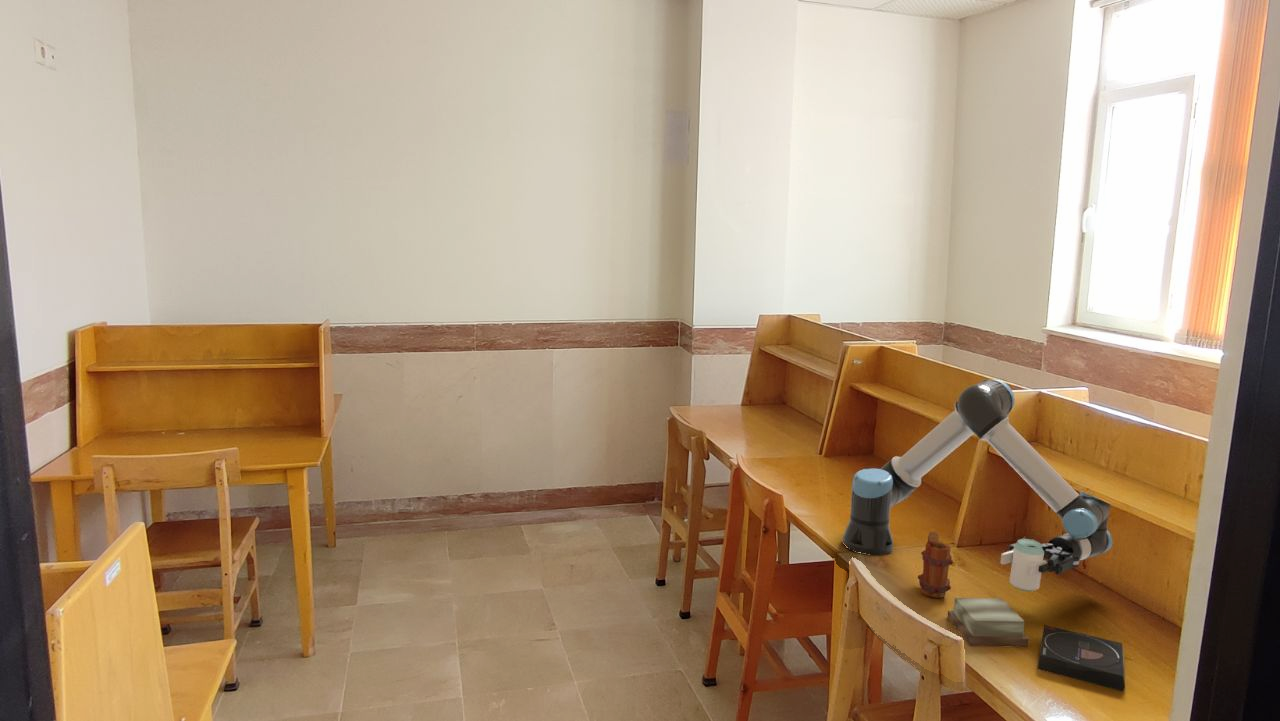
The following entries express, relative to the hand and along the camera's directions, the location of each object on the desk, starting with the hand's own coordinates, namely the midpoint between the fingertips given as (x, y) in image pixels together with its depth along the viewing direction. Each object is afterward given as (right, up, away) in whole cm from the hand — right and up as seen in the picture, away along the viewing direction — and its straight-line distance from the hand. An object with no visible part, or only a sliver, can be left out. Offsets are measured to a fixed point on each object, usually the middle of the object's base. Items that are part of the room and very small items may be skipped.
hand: (1015, 564), depth 209 cm
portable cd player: (+6, -19, -19) cm, 28 cm away
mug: (-16, -11, +16) cm, 25 cm away
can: (+4, -7, +4) cm, 9 cm away
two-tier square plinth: (-10, -15, -6) cm, 19 cm away
